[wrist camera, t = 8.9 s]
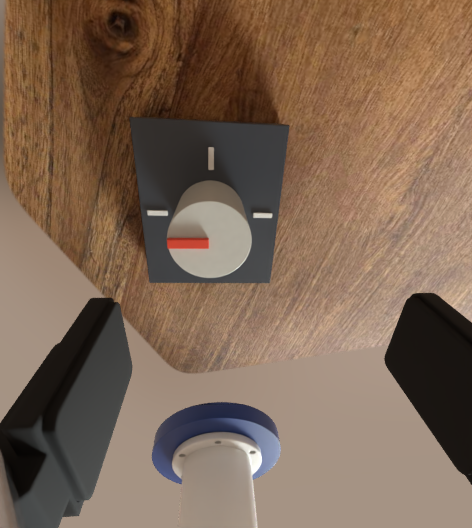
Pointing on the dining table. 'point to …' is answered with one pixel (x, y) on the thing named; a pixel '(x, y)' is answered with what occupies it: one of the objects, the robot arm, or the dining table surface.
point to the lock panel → (204, 169)
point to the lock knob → (209, 230)
